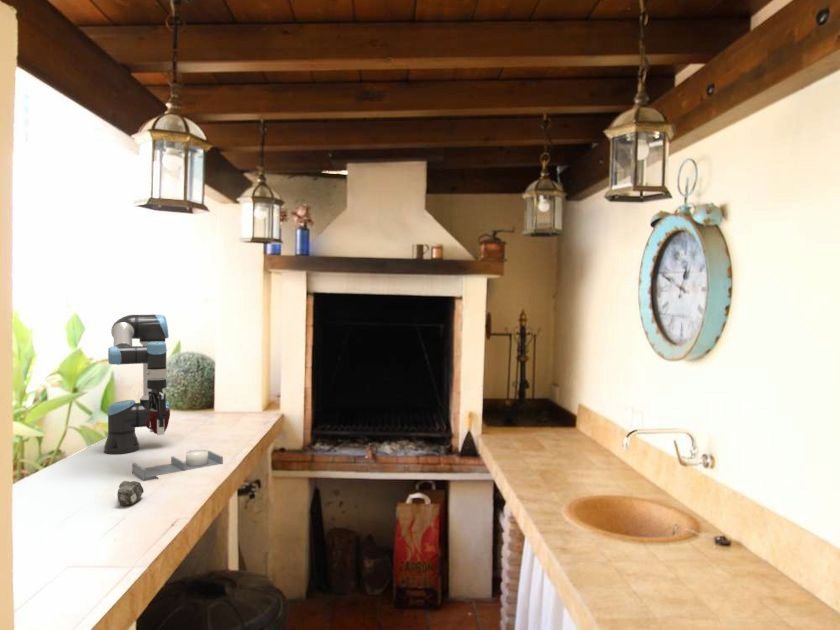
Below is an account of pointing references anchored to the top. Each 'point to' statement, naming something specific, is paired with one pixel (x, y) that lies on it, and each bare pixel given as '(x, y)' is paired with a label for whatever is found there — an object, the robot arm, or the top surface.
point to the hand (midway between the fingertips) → (157, 433)
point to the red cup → (153, 420)
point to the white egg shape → (196, 457)
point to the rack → (172, 467)
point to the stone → (129, 492)
